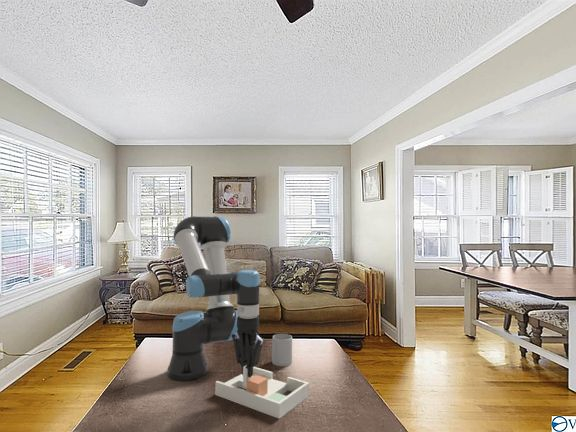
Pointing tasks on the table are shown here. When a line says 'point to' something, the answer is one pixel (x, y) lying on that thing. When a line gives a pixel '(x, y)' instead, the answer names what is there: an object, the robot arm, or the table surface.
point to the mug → (282, 350)
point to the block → (257, 385)
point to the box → (276, 399)
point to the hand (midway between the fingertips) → (247, 385)
